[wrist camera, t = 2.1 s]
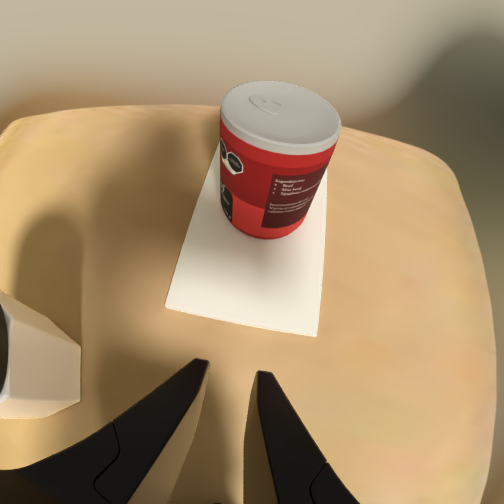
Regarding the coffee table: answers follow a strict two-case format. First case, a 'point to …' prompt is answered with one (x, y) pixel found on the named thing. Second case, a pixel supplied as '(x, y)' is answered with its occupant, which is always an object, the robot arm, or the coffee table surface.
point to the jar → (35, 363)
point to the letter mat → (250, 267)
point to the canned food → (273, 155)
